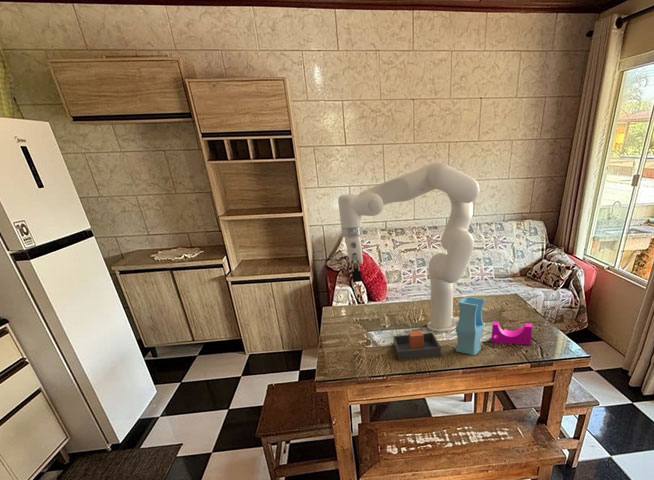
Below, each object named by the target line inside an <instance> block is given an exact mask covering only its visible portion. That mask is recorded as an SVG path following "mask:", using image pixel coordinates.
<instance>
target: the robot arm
mask: <svg viewBox="0 0 654 480" xmlns="http://www.w3.org/2000/svg"><path fill="white" fill-rule="evenodd" d="M435 190H439V191H441V192H443V193H445V194H446V195H447V197H448V199H449V201H450V204H451V205H450V206H451V207H450V208H451V209H450V214H449V217H448V219H447V222H446V225H445V228H444V230H443V233H442V236H441V239H440V244H441V245H440V246H441V247H442V248H443V249H444V250H445V251H447V253H443V252H438V253H436V254H433V255H432V257H431V258H430V260H429V262H428V275H429V282H430V284H429V285H430V321H429V322H427V324H426V327H427V329H428V330H430V331H432V332H436V333H447V332H451V331H453V330H456V327H457V324H458V321H459V317H460V316H453V315H454V313H453V312H454V283H457V282H458V281H459V280H460V279H461V278H462V277H463V275H464V273H465V270H466V268H467V266H468V263H469V261H470V259H471V256H472V254H473V251H474V247H475V240H474V237H473V234H472V233H471V232H470V231H469V228H470V224H471V222H472V219H473V213H474V208H473V206H474V205H473V202H475V201H476V200H477V198H478V197H479V195H480V191H481V190H480V184H479V182H478V181H477V180H476V179H475V178H473V177H472V176H470V175H468V174H466V173H464V172H462V171H460V170H458V169H457V168H455V167H453V166H451V165H449V164H447V163H443V162H442V163H441V162H433V163H432V162H431V163H429V164H427V165H424V166H422V167H419V168H418V169H415V170H412V171H410V172H408V173H405V174H404V175H403V174H402V175H401V176H398V177H395V178H392V179H390V180H387V181H384V182H382V183H378V184H376V185H374V186H372V187H369V188H367V189H365V190H362V191H360V192H359V193H358V195H357V194H354V193H351V194H350V193H349V194H341V195H339V197H338V199H337V203H338V212H339V219H340V229H341V237H342V238H345V243H346V251H347V257H348V262H349V265H350V266H351V275H352V282H353V283H361V282H362V272H361V265H363V264H364V260H363V249H362V247H363V246H362V240H361V237H363V236H364V233H363V221H362V216H367V217H375V216H378V215H379V214H381V213H382V211H383V209H384V206H386V205H389V204H392V203H400V202H401V203H403V202H407V201H412V200H414V199H416V198H418V197H421V196H423V195H424V194H427V193H430V192H431V191H435ZM360 264H361V265H360Z"/></svg>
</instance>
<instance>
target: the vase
mask: <svg viewBox="0 0 654 480" xmlns="http://www.w3.org/2000/svg"><path fill="white" fill-rule="evenodd" d="M485 301H486V298H481V297H474V296H464V297H462V298H461V299H460V300H458V301H457V302H458V307H459V316H458V317H459V321H458V322H457V323H456V328H455V333H456V336H457V344H456V348H455V352H459V353H463V354H468V355H472V356H476V355H477V354H478V353H479V352H480V351H481V350H482V343H481V342H482V341H481V338H482V334H483V330H484V328H485V324H484V320H483V315H482V314H483V313H482V312H483V308H484V305H485Z"/></svg>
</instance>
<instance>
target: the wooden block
mask: <svg viewBox="0 0 654 480" xmlns="http://www.w3.org/2000/svg"><path fill="white" fill-rule="evenodd" d="M408 335H409V348H410V350H412V349H422V348H424V335H423V331H422V329H421V330H419V329H418V330H410V331H408Z"/></svg>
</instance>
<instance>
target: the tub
mask: <svg viewBox="0 0 654 480" xmlns="http://www.w3.org/2000/svg"><path fill="white" fill-rule="evenodd" d="M422 333H423V332H422ZM423 335H424V348H422V349H412V350H410V348H409V334H404V335H395V336H393V337H392V339H393V340H392V341H393V346H394V350H395V353H396V357H397V359H398V361H404V360H412V359H413V360H414V359H422V358H432V357H442V347H441V344H440V343H439V341H438V340H437V337H436V335H435V334H434V332H425V333H423Z"/></svg>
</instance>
